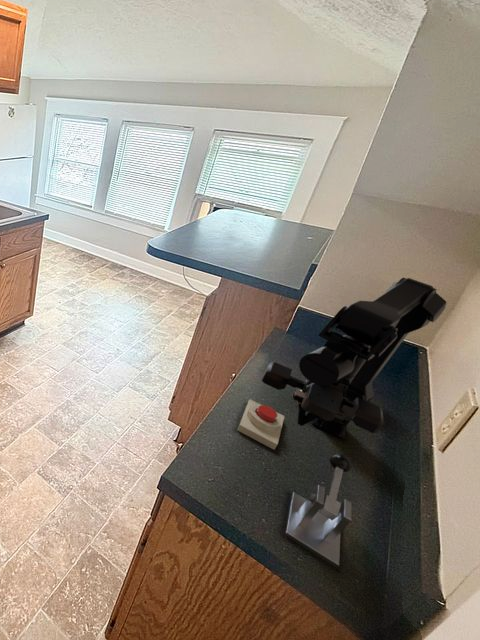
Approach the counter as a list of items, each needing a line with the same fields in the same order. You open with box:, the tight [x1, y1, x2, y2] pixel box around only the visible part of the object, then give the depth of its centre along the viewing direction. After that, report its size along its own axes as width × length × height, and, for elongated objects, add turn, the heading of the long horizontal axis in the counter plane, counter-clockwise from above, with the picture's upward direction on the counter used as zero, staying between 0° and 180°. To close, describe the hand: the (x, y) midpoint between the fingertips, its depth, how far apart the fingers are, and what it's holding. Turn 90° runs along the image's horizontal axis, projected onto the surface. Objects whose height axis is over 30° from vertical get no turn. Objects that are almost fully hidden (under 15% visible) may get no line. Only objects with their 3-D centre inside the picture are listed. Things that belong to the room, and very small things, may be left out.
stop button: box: [256, 404, 278, 423], centre depth 93 cm, size 4×4×2 cm
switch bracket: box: [284, 484, 353, 569], centre depth 71 cm, size 11×8×9 cm
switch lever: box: [318, 453, 352, 520], centre depth 72 cm, size 13×3×3 cm, turn 138°
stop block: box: [237, 398, 285, 451], centre depth 94 cm, size 12×8×4 cm, turn 139°
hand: (299, 423), depth 80 cm, fingers closed
